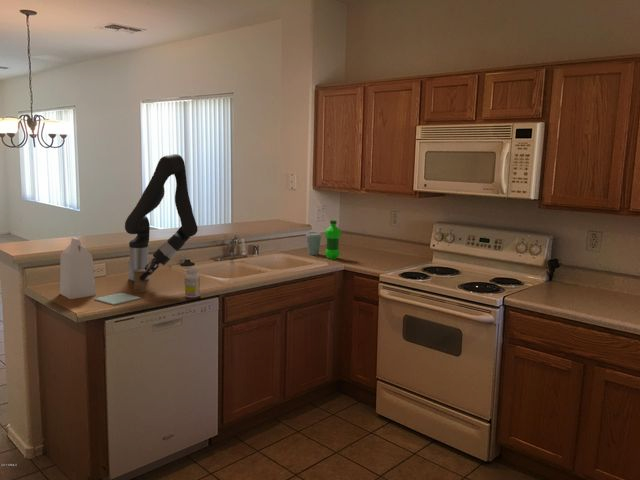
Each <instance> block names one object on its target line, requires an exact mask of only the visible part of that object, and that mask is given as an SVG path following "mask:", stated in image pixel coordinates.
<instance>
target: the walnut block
mask: <svg viewBox="0 0 640 480" xmlns="http://www.w3.org/2000/svg"><path fill="white" fill-rule="evenodd" d="M144 272H145V269H137V270H134V281H133V282H134V293H146V291H147V288H146V287H147V286H146V285H147V282H146V281H147V280H146V278H145V279H144V280H143V281H142V280H140V279H139V277H140V276H141V275H142V274H143V273H144Z"/></svg>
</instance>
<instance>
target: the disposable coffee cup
mask: <svg viewBox="0 0 640 480" xmlns="http://www.w3.org/2000/svg"><path fill="white" fill-rule="evenodd" d="M305 238H306V244H307V251H308V254H309V256H317V255H319V252H320V247H321V240H322V234H321V232H318V231H308V232H306V234H305Z"/></svg>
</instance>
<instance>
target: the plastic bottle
mask: <svg viewBox="0 0 640 480" xmlns="http://www.w3.org/2000/svg"><path fill="white" fill-rule="evenodd" d="M337 221H338V220H334V219H333V220H330V221H329V224H330V226H329V227H327V228H326V229H325V233H324V234H325V235H324V236H325V237H326V249H325V252H324V255H325V256H326V258H328V259H329V260H336V259H337V258H339V256H340V253H341V252H340V250H339V249H340V248H339V243H340V242H339V241H340V238H341V235H342V233H341V232H342V231H341V229H339V228H338V227H337Z"/></svg>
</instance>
